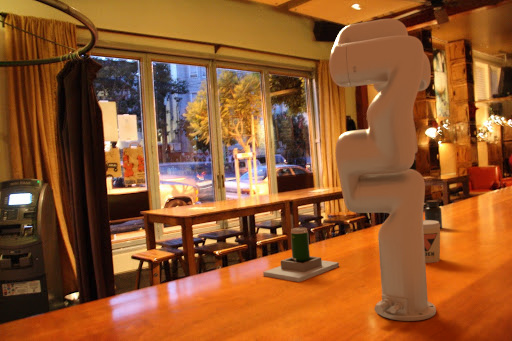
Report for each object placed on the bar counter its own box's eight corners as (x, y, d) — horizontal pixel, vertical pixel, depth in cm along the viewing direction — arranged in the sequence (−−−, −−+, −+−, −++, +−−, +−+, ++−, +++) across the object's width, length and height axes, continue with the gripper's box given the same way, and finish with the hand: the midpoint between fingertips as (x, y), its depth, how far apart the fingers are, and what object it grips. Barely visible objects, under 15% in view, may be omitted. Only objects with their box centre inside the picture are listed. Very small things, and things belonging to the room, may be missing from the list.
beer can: (300, 270, 137) (297, 231, 137) (289, 267, 141) (286, 229, 141) (314, 266, 140) (311, 228, 140) (302, 264, 144) (300, 226, 144)
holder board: (299, 282, 129) (298, 269, 129) (263, 275, 139) (262, 263, 138) (338, 266, 143) (337, 254, 143) (303, 261, 153) (303, 250, 153)
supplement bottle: (422, 228, 198) (420, 201, 197) (433, 226, 200) (431, 199, 200) (434, 230, 191) (432, 202, 191) (446, 228, 194) (444, 200, 194)
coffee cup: (408, 262, 141) (406, 224, 141) (413, 256, 150) (411, 219, 149) (440, 264, 137) (438, 224, 137) (443, 257, 145) (441, 219, 145)
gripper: (397, 112, 118) (401, 177, 119) (425, 113, 131) (428, 172, 131) (371, 115, 123) (375, 178, 124) (400, 116, 136) (404, 173, 136)
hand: (403, 175), depth 127 cm, fingers open, 9 cm apart
